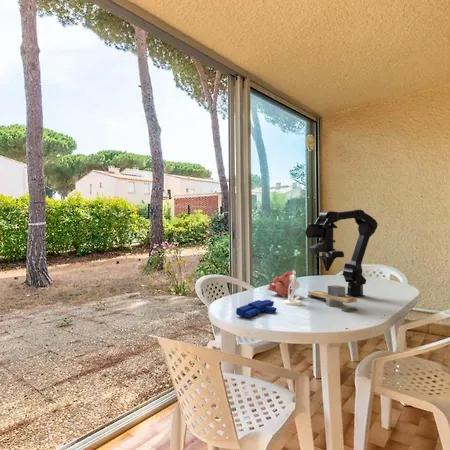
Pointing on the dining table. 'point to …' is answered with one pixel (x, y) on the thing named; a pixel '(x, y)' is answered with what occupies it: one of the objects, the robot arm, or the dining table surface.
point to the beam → (325, 295)
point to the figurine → (294, 286)
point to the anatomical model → (281, 284)
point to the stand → (334, 303)
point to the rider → (336, 291)
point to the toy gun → (256, 308)
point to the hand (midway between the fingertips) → (327, 271)
